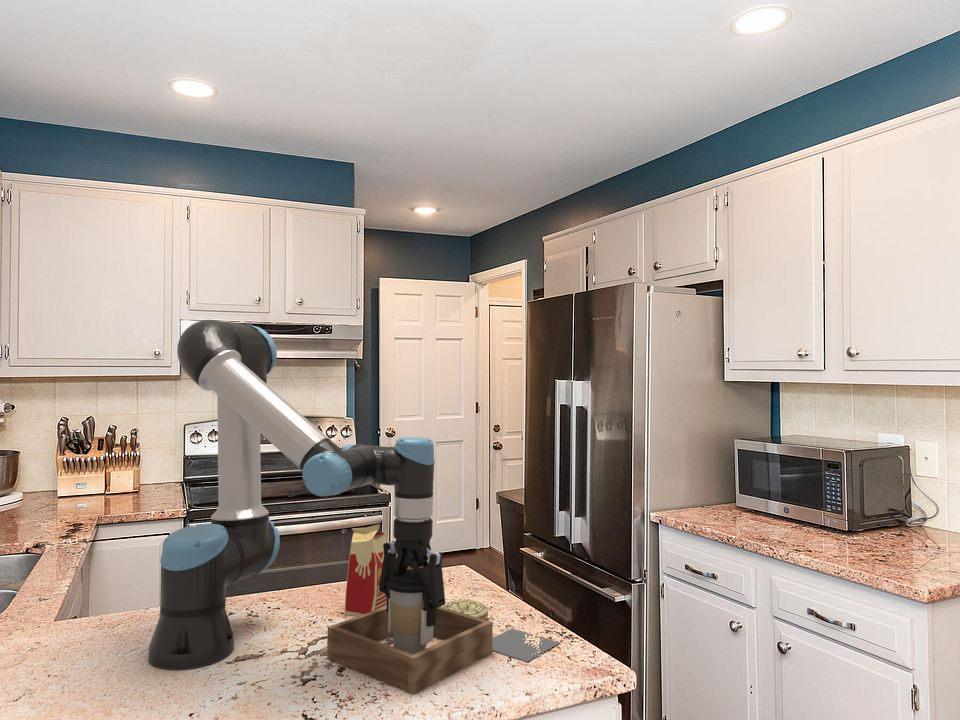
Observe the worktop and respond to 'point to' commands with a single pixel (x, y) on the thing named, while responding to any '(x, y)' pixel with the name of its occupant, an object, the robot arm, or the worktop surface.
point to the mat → (520, 645)
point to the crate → (401, 669)
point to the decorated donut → (468, 608)
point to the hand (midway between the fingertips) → (410, 636)
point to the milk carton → (365, 572)
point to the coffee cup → (406, 611)
